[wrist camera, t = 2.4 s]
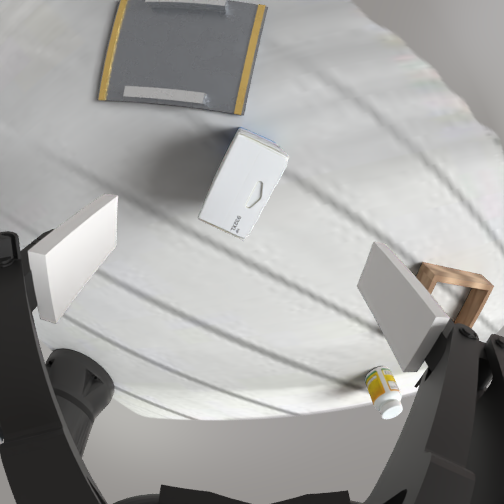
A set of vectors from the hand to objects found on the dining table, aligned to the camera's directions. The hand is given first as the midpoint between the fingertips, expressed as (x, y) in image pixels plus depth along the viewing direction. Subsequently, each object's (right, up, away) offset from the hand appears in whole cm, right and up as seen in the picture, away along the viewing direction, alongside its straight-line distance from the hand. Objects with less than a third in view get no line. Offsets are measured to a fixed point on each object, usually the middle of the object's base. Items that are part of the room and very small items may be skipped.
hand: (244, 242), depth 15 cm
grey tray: (-8, +23, +14) cm, 28 cm away
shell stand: (+33, -9, +31) cm, 46 cm away
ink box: (-1, +10, +21) cm, 23 cm away
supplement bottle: (+24, -24, +38) cm, 51 cm away
